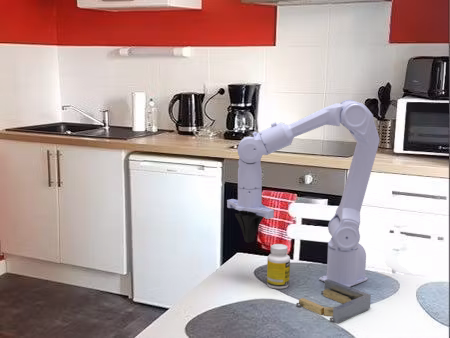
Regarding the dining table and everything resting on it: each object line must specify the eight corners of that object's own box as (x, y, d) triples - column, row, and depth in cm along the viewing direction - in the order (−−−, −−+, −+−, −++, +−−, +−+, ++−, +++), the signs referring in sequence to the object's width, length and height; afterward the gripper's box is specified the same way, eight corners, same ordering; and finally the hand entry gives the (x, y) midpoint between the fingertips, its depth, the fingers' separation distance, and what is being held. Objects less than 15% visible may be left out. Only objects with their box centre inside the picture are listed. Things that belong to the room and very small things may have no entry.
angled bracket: (327, 291, 134) (327, 278, 134) (371, 308, 125) (372, 295, 124) (291, 304, 127) (292, 291, 126) (336, 324, 117) (336, 310, 117)
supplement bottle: (288, 290, 135) (289, 250, 133) (265, 288, 136) (266, 249, 134) (290, 282, 140) (291, 243, 138) (268, 280, 141) (269, 242, 139)
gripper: (217, 184, 140) (217, 237, 143) (258, 194, 129) (258, 252, 132) (239, 180, 145) (238, 232, 147) (280, 190, 134) (279, 245, 136)
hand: (249, 241), depth 140 cm, fingers closed
